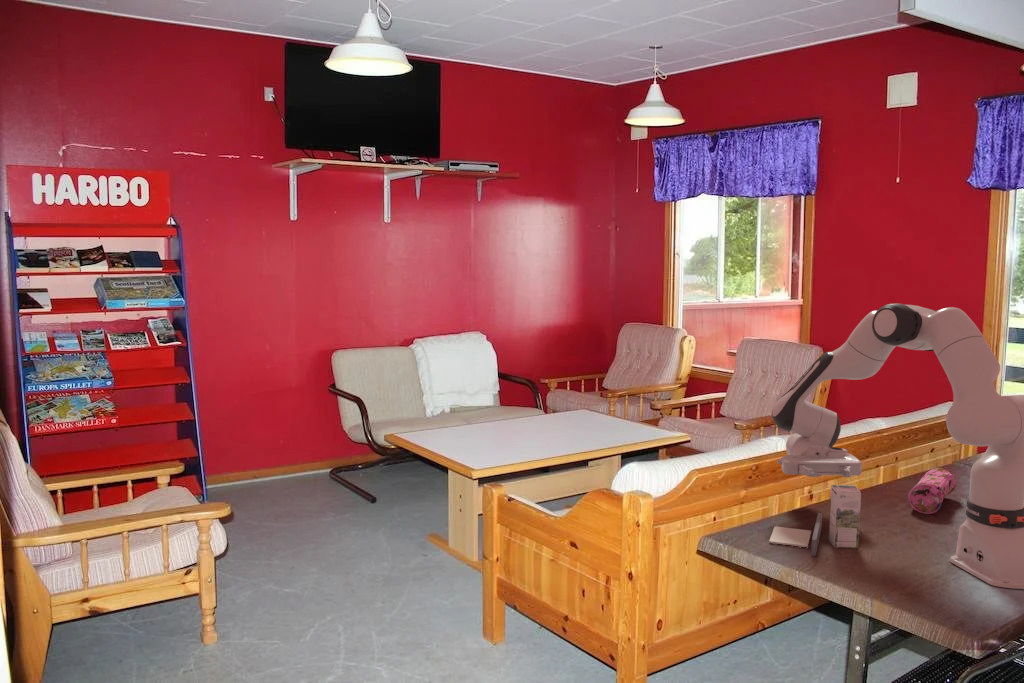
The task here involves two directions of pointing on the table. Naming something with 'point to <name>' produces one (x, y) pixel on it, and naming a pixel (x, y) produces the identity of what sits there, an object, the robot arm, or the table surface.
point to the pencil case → (931, 491)
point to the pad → (790, 536)
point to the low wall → (816, 534)
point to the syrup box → (844, 516)
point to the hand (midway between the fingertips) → (829, 473)
